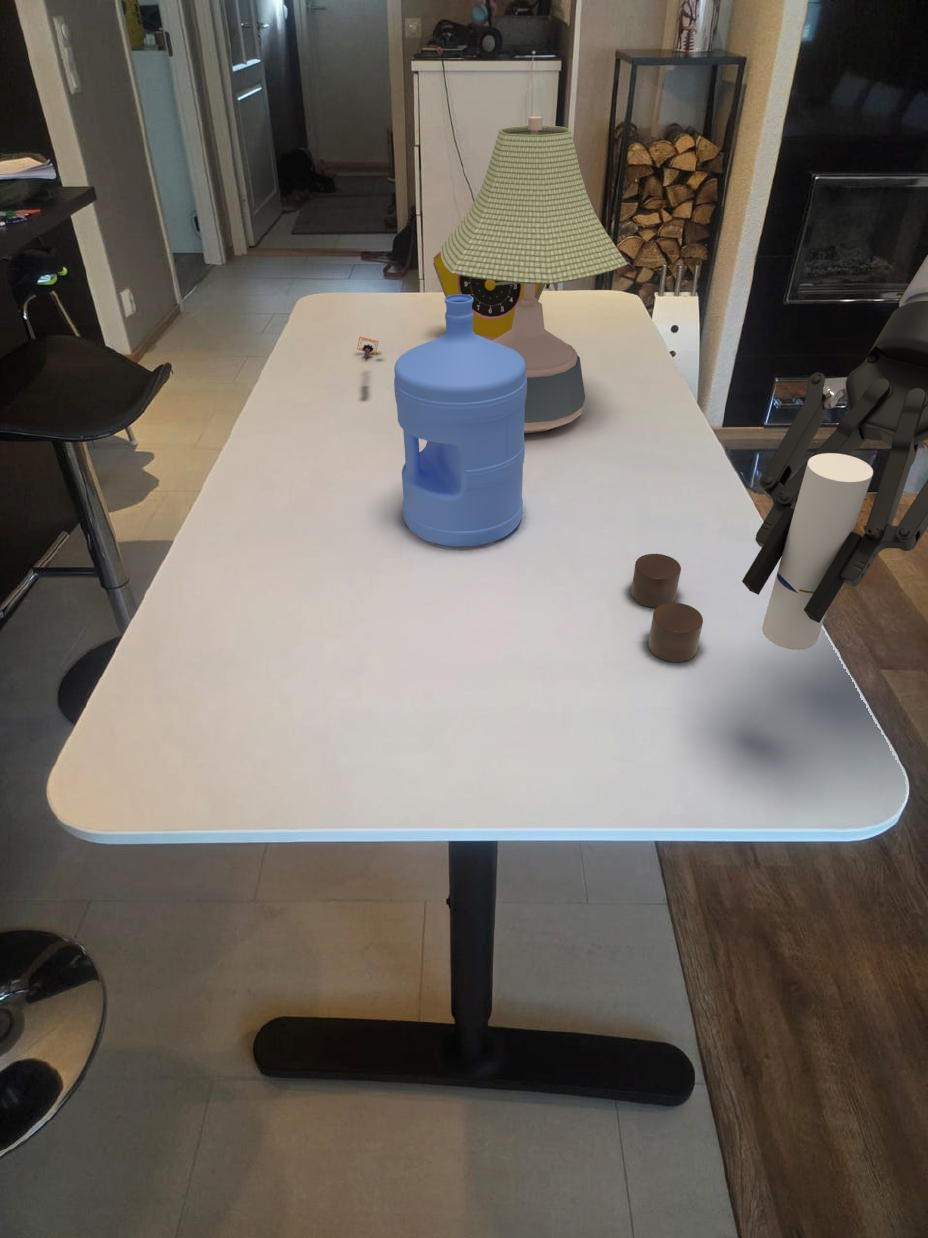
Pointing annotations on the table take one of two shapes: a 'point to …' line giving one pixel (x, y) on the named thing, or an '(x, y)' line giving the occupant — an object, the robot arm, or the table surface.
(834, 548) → the tube
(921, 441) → the robot arm
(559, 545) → the table surface
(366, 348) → the framed picture
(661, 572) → the brown short cylinder
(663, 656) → the disc
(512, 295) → the yellow clock
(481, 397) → the water jug
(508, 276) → the desk lamp
